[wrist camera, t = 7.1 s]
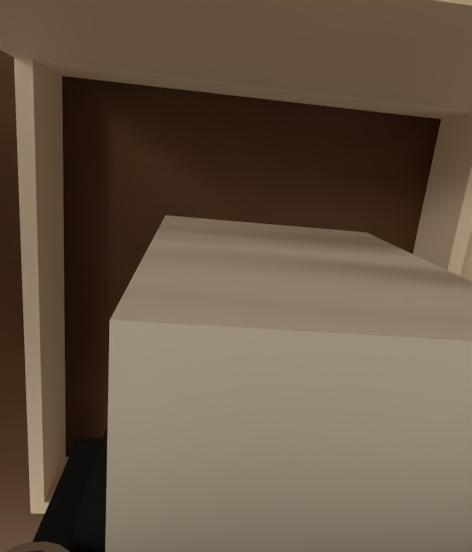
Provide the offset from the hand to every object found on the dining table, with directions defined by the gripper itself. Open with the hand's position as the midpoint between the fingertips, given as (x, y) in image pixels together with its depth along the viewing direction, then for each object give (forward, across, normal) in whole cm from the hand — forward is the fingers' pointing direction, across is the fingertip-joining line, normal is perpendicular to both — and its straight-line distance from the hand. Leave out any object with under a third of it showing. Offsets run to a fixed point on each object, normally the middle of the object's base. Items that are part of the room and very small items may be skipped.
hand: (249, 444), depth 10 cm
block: (+1, 0, 0) cm, 1 cm away
